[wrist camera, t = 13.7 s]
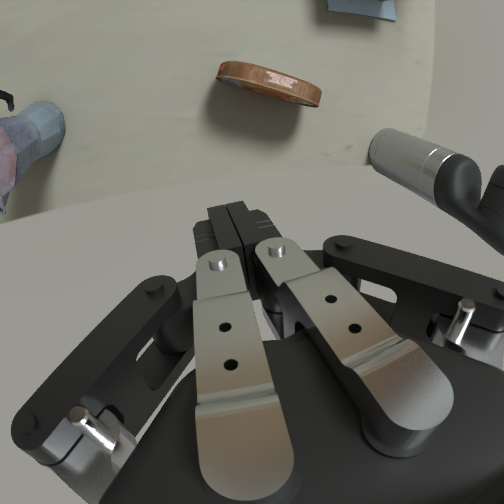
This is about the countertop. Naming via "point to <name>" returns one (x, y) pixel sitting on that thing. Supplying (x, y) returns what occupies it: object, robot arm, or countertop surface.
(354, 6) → the mat
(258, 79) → the tin
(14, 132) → the moka pot
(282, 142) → the countertop surface
